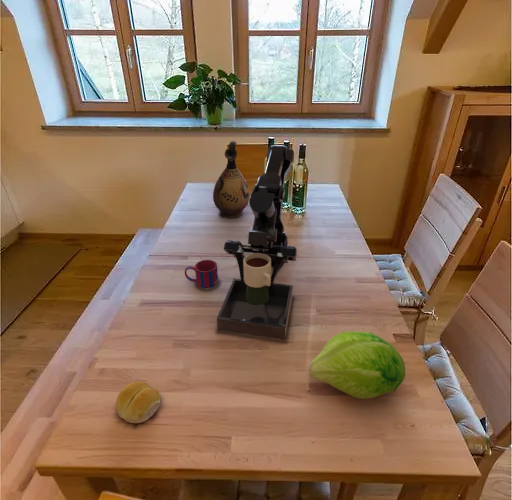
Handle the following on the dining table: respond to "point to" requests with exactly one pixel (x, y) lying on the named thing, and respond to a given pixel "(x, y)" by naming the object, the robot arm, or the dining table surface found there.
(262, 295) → the coffee mug
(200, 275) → the cup
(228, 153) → the ceramic jug
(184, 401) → the dining table surface
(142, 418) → the bread roll
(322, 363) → the lettuce
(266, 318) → the tray
